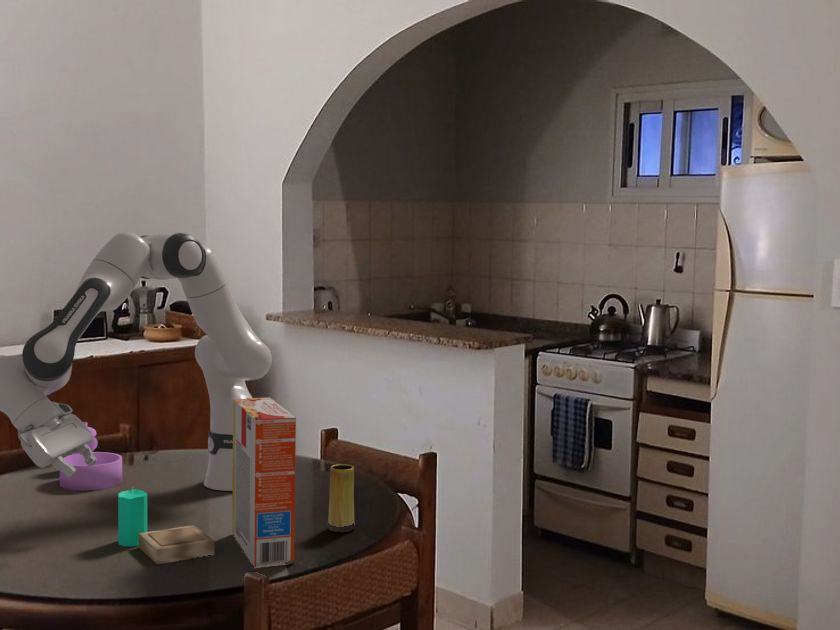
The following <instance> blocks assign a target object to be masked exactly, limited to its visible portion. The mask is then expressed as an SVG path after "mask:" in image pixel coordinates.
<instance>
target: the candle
mask: <svg viewBox="0 0 840 630" xmlns="http://www.w3.org/2000/svg"><path fill="white" fill-rule="evenodd" d="M117 497H118V498H117V499H118V502H117V505H118V506H117V507H118V508H117V510H118V513H117V514H118V516H117V517H118V518H117V519H118V520H117V521H118V522H117V523H118V526H117V527H118V528H117V529H118V535H117V539H118V545H119V546H122V547H129V548H130V547H139V533H144V532H148V493H147V492H145V491H143V490H140V489H136V488H135V489H134V486H132V489H130V490H124V491H120V492H118V495H117Z"/></svg>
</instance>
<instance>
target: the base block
mask: <svg viewBox="0 0 840 630" xmlns="http://www.w3.org/2000/svg"><path fill="white" fill-rule="evenodd" d="M138 548H139V549H140V550H141V551H142V552H143V553H144V554H145V555H146V556H148V558H149V559H151V560H152V561H153V562H154V563H155V564H156V565H162V564H169V563H174V562H175V563H176V562H180V560H181V561H186V560H187V561H188V560H192V559H191V558H193V559H198V558H197V557H199V558H203V556H205V557H209V556H208V555H211V556H215V540H214V539H213V538H211V537H210V536H209V535H208V534H206V533H205V532H204V531H203V530H201V529H200V528H198V527H197V526H196V525H195V524H193V525H185V526H179V527H174V528H166V529H158V530H153V531H151V530H150V531H147V532H144V533H139V546H138Z"/></svg>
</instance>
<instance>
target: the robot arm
mask: <svg viewBox="0 0 840 630" xmlns="http://www.w3.org/2000/svg"><path fill="white" fill-rule="evenodd" d="M141 279H144V280H158V281H159V280H160V281H161V280H164V281H166V280H171V279H178V281H179V282H180V284H181V287H182V290H183V292H184V296H185V299H186V301H187V303H188V305H189V308H190V312H191V313H192V316H193V319H194V321H195V323H196V325H197V326H198V327H199V328H200V330H202V331H203V333H204V334H205V335H203V336H202V337H201V338H200V339H198V341H197V343H196V345H195V347H194V348H195V349H194V357H195V361H196V362H197V364H198V366H199V367H200V369H201V370H202V373H203V376H204V379H205V384H206V388H207V391H208V397H209V407H210V411H209V412H210V413H209V414H210V415H209V416H210V418H209V420H210V425H209V426H210V430H209V431H208V438H207V439H208V440H207V448H208V453H209V454H208V455H209V456H208V464H207V470H206V474H205V479H204V482H203V486H204V487H205V488H208V489H211V490H216V491H225V492H226V491H229V492H233V399H247V398H253V396H252V394H251V393H250V392H249V389H248V387H247V385H246V381H254V380H259V379H262V378H263V377H265V376H267V374H268V373H269V371H270V369H271V366H272V362H273V356H272V352H271V350H270V348H269V347H268V346H267V345H266V344H265V343H264V342H263V341H262V340H261V339H260V338H259V337H258V335H256V333H255V331H254V330H253V328H252V327H251V326H250V324H249V323H248V321H247V320H246V318H245V317H244V315H243V313H242V311H241V310H240V308H239V306H238V304H237V302H236V298H235V297H234V294H233V291H232V288H231V286H230V283H229V280H228V278H227V274H226V273H225V271H224V269H223V266H222V265H221V263H220V260H219V259H218V258H217V256H216V254H215V253H214V250H213V249H212V248H211V247H209V246H207V245H204V244H202V243H201V242H200V241H199V240H198V239H197V238H196V237H194V236H193V235H190V234H187V233H183V232H176V233H174V232H160V233H157V234H156V233H155V234H151V235H149V234H148V235H147V234H146V235H141V236H140V235H137V234H136V233H134V232H129V231H123V232H119V233H117V234H116V235H114V236H113V237H112V238H111V239H110V240H109V241H108V242H107V243H106V244H105V245H104V246H103V247H102V248H101V249H100V251H99V252H98V253H97V254H96V255H95V257H94V258H93V259H92V261H91V262H90V263H89V265H88V267H87V268H86V270H85V271H84V273H83V275H82V276H81V279H80V281H79V283H78V285H77V287H76V290H75V292H74V294H73V295H72V297H71V298H70V300H68V302H67V303H66V304H65V306H64V307H63V308H62V310H60V312H59V314H58V315H57V317H56V318H55V319H54V320H53V321H52V322H51V323H50V324H49V325H48V326H46V327H45V328H43V329H42V330H40V331H38V332H37V333H35V334H33V335H31V337H30V338H29V339H28V340H27V341H26V342H25V344H24V346H23V348H22V353H20V354H19V353H18V354H12V355H4V354H2V355H0V412H1V413H4V414H5V415H6V416H7V418H9V420H10V422H11V424H12V425H13V426H14V427H15V429H16V430H17V437H18V440H19V441H20V445H21V448H22V449H23V450H24V451H25V453H26V454H27V456H28V457H29V458H30V459H31V461H32V462H33V463H34V465H36V466H37V467H39V468H41V469H44V468H45V467H48V466H50V465H52V466H53V468H54V469H56V470H58V471H59V472H60V471H61V472H63V473H64V474H65V475H66V476H67V477H71V476H73V475H74V474H75V473H76V472H77V470H76V469H75V468H74V466H73V465H71V466H70V465H69V464H67V463H66V462H65V461H63V460H64V459H63V458H65V457H67V456H69V455H72V454H73V453H75V452H77V451H78V452H79V453H80V454H82V455H83V457H84V458H85V461H84V462H85V463H86V464H87V465H88V466H92V465H94V464H95V463H96V462H97V459H96V458H95V457H94V456H93V454H92V451H91V448H90V447H89V446H88V444H89V443H90V442H91V441H92V440H93V436H92V433H91V432H90V431H89V429H88V428H87V427H88V426H87V427H86V426H85V425H84V423H83V422H84V421H82V420H81V419H80V418H79V417H78V415H76V414H73V408H72V407H71V406H70V405H69V404H66V403H59V402H55V401H51V400H50V398H49V397H48V396H50V395H51V394H53V393H56V392H57V391H59V390H61V389H62V388H64V387H65V386H66V385H67V383H68V382H69V380H70V378H71V375H72V370H73V363H74V359H75V352H76V345H77V343H78V341H79V339H80V338H81V337H82V335H83V334H84V333H85V332H86V330H87V329H88V327H89V325H90V324H91V323H92V322H93V320H94V319H95V318H96V316H98V314H100V313H102V312H113V311H115V310H117V309H118V308H119V307H120V306H121V305H122V304H123V303H124V302H125V301H126V300H127V299H128V297H129V296H130V295H131V293H132V292H133V290H134V289H135V288H136V286H137V284H138V283H139V282H140V280H141Z"/></svg>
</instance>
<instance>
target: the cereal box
mask: <svg viewBox="0 0 840 630" xmlns="http://www.w3.org/2000/svg"><path fill="white" fill-rule="evenodd" d="M296 431H297V417H296V416H295V415H293V414H292V413H291V412H290V411H288V410H287V409H286V408H284V406H282V405H281V404H279V403H278V402H276V401H275V399H272V398H271V397H252V398H247V399H233V491H232V501H231V502H232V503H231V504H232V505H231V507H232V512H231V513H232V515H231V516H232V517H231V519H232V520H231V521H232V523H231V527H232V530H231V533H233V535H234V536H233V535H232V536H233V538H234V537H235V538H236V539H235V538H234V539H235V541H236V540H237V541H238V543H239V544H240V546H241V547H242V549H243V550H244V552H245V553H246V555H247V556H248V558H249V559H250V561H251V562H252V564H253V565H254V567H256V566H261V565H267V564H274V563H280V562H288V561H294V562H295V530H296V529H295V527H296V526H295V525H296V524H295V523H296V521H295V517H296V514H295V513H296V510H295V509H296V508H295V507H296V449H297V447H296V441H297V438H296V437H297V432H296ZM237 541H236V542H237ZM238 543H237V544H238ZM239 544H238V545H239ZM240 546H239V547H240ZM241 547H240V548H241ZM242 549H241V550H242ZM243 550H242V551H243ZM244 552H243V553H244ZM246 555H245V556H246ZM248 558H247V559H248ZM250 561H249V562H250ZM252 564H251V565H252Z"/></svg>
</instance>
